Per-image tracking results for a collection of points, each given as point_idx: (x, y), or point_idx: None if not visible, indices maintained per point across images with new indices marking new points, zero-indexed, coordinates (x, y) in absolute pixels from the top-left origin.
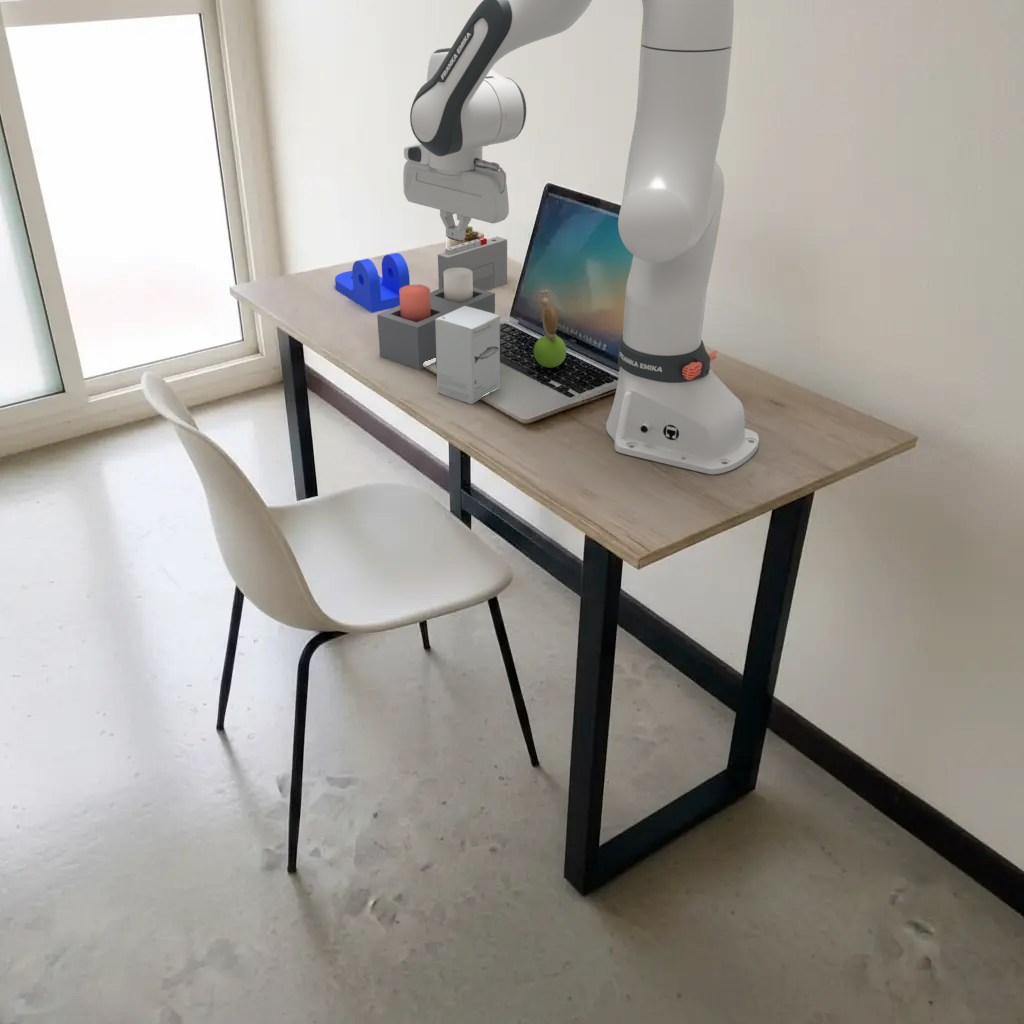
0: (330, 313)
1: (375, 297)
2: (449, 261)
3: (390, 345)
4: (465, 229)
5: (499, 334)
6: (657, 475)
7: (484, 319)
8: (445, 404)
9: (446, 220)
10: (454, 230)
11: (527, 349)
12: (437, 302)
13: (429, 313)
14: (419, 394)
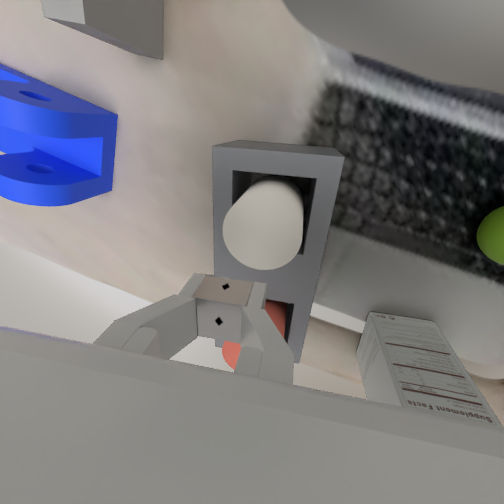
0: (80, 223)
1: (94, 188)
2: (94, 19)
3: None
4: (262, 306)
5: (484, 399)
6: None
7: None
8: None
9: (169, 353)
10: (233, 339)
11: (428, 178)
12: (259, 270)
13: (284, 322)
14: (337, 359)
